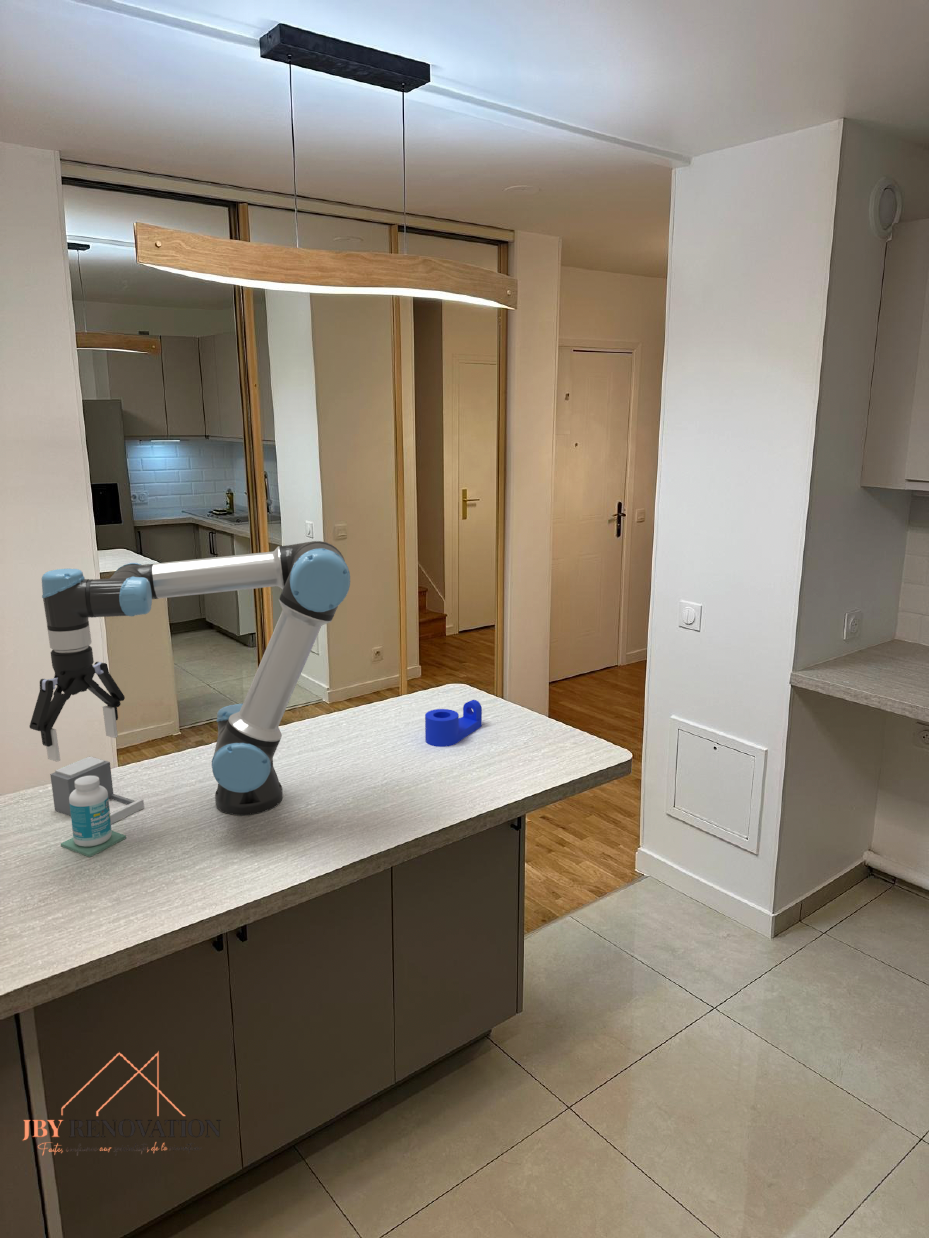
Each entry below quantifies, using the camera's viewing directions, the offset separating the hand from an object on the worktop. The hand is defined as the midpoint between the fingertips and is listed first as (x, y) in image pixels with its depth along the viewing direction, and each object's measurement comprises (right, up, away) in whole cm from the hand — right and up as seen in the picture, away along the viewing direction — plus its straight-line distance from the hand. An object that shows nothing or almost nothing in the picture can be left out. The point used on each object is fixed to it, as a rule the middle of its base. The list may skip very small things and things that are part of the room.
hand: (84, 747), depth 174 cm
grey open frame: (-5, -17, +20) cm, 26 cm away
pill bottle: (0, -20, +5) cm, 21 cm away
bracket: (+75, -6, +64) cm, 98 cm away
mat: (0, -21, +5) cm, 21 cm away
